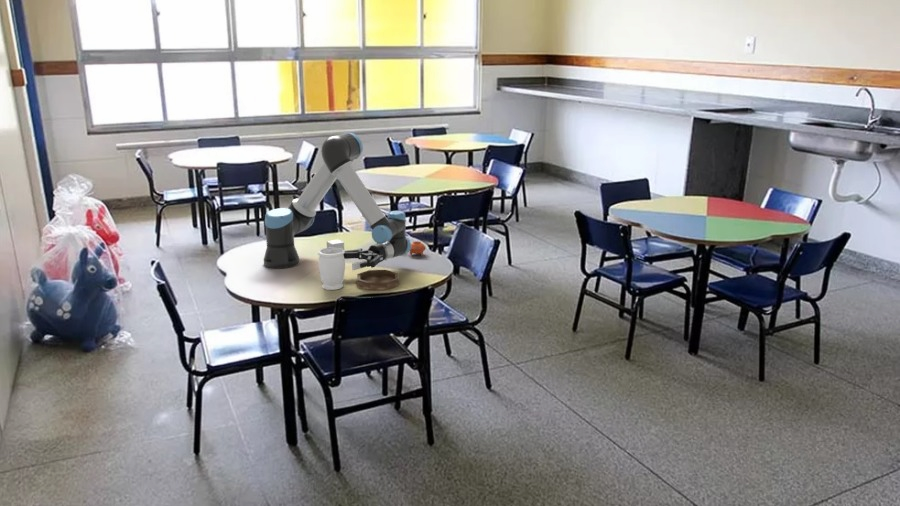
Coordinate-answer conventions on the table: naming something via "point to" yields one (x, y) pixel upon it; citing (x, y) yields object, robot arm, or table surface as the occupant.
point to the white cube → (335, 244)
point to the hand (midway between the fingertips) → (341, 263)
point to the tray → (377, 279)
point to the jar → (331, 267)
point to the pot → (417, 248)
